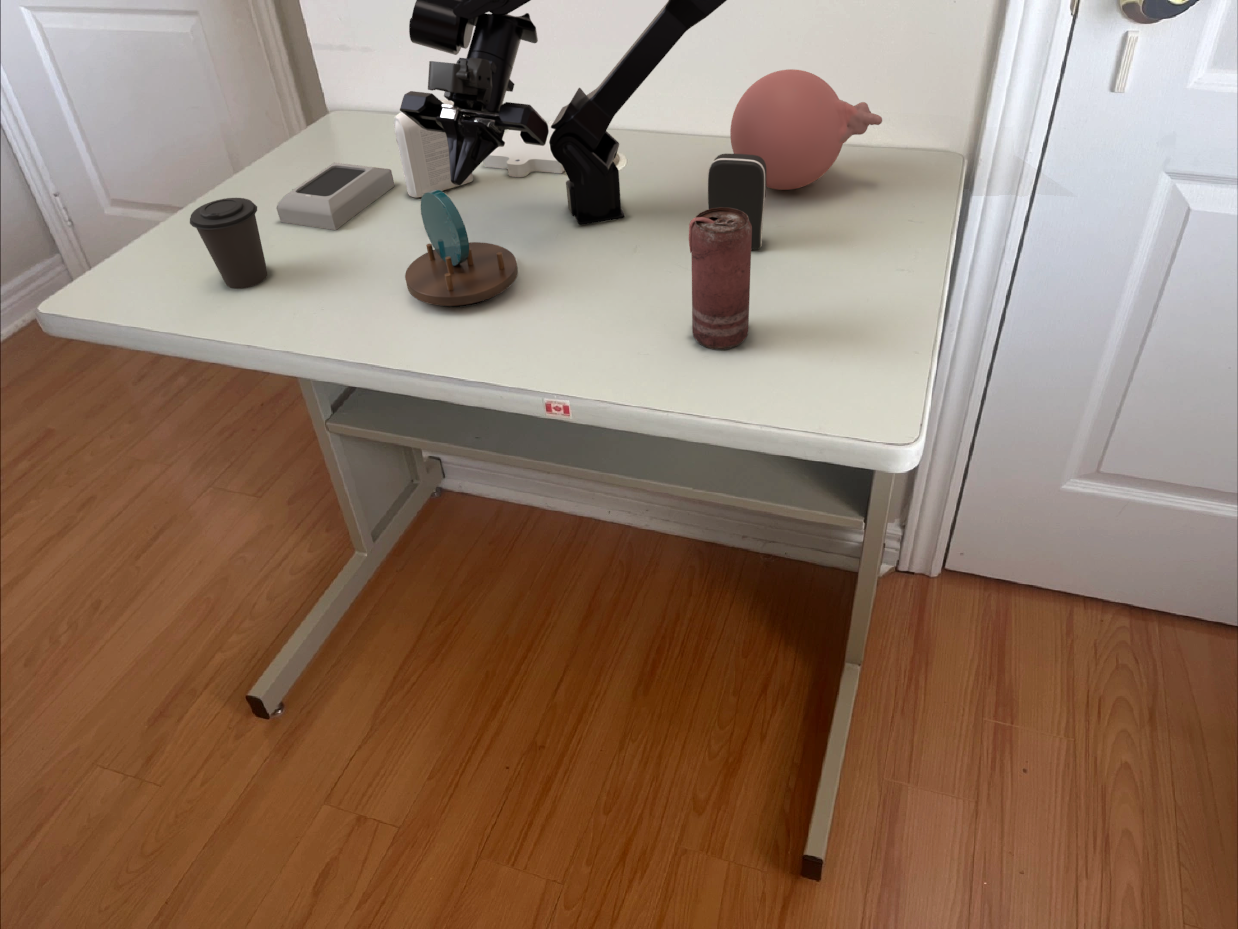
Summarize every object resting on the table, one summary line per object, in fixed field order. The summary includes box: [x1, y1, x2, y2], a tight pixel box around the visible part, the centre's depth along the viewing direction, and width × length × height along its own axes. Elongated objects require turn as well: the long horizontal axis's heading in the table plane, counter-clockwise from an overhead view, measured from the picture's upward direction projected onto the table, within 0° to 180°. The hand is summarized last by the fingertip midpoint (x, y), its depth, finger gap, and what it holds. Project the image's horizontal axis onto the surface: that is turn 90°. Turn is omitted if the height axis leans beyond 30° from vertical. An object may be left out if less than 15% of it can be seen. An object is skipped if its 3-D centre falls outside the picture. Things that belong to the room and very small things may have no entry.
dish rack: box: [404, 190, 519, 307], centre depth 110 cm, size 14×14×10 cm
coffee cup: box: [189, 197, 269, 290], centre depth 116 cm, size 8×8×10 cm
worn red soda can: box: [688, 207, 752, 351], centre depth 98 cm, size 6×6×14 cm
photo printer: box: [393, 99, 474, 199], centre depth 134 cm, size 10×4×12 cm, turn 123°
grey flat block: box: [275, 162, 396, 231], centre depth 134 cm, size 10×4×15 cm
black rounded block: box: [707, 153, 767, 250], centre depth 115 cm, size 7×4×11 cm, turn 74°
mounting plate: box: [482, 119, 565, 178], centre depth 144 cm, size 18×13×2 cm
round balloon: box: [729, 68, 883, 191], centre depth 125 cm, size 15×20×15 cm
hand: (455, 183), depth 115 cm, fingers closed
